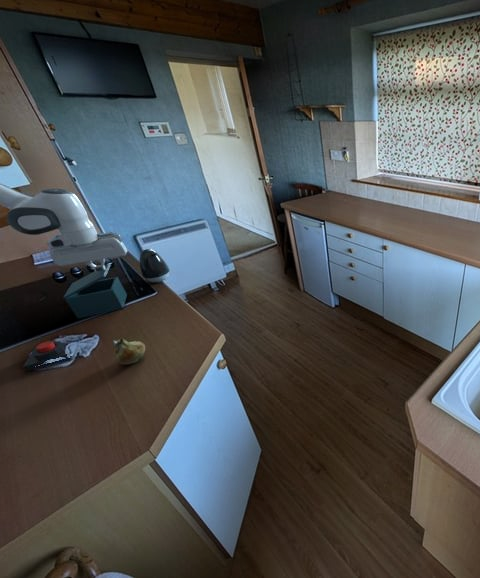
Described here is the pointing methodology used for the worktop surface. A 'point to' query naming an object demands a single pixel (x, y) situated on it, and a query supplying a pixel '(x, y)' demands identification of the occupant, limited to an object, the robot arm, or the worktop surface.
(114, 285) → the tin
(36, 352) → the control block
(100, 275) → the lid
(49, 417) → the worktop surface
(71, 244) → the robot arm
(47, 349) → the button
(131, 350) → the onion
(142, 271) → the black egg-shaped dome
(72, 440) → the worktop surface
